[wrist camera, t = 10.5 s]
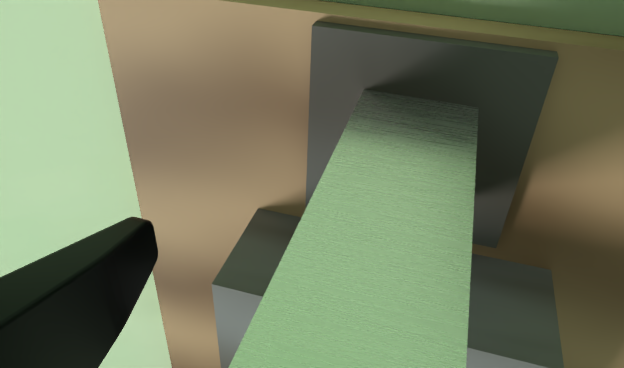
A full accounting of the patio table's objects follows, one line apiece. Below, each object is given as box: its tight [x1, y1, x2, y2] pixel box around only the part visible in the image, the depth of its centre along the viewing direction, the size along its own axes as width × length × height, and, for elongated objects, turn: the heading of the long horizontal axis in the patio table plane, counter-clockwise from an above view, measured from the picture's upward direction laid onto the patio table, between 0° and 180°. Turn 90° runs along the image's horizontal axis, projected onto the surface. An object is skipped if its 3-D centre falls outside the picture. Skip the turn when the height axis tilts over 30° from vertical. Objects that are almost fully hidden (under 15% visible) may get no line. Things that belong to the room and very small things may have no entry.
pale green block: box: [229, 89, 479, 368], centre depth 9 cm, size 6×3×10 cm, turn 177°
